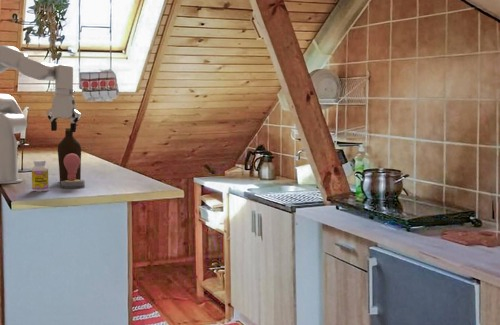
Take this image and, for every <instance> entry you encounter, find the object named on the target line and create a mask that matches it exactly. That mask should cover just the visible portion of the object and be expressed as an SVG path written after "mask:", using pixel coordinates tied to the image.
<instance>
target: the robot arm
mask: <svg viewBox="0 0 500 325" xmlns="http://www.w3.org/2000/svg"><path fill="white" fill-rule="evenodd" d="M29 57H30V56H29V55H28V54H27V53H25V52H23V51H20V50H19V49H18V48H17V47H15V46H14V45H13V46H11V45H6V44H5V45H4V44H0V74H1V73H4V72H5V71H8V70H9V69H11V70H15V71H18V72H19V73H20V74H22V75H24V76H26V77H29V78H32V79H35V80H38V81H51V82H53V81H54V86H55V87H54V95H53V98H52V105H51V108H50V109H48V110H47V111H46V112H45V113H46V117H47V118H48V119H49V122H50V129H51V132H56V131H57V130H58V129H57V128H58V123H57V120H58V119H63V120H64V119H67V120H69V121H70V125H69V126H70V127H69V128H70V132H73V133H76V130H77V123H78V122H79V121H80V118H81V117H82V113H81V112H79V111H78V110H77V101H76V99H75V98H76V97H75V96H74V95H75V94H76V90H73V89H74V67H73V66H72V65H71V64H70V65H69V64H56V63H48V62H39V61H36V60H33V59H30V58H29ZM27 127H28V120H27V118H26V116H25V114H24V112H23V110H22V109H21V107H20V105H19V104H18V102H17V101H16V99H15V98H14V97H13V96H11V95H10V94H8V93H0V185H4V184H5V185H6V184H17V183H21V182H23V179H22V178H19V165H18V164H19V163H18V162H19V161H18V159H19V158H18V142H17V138H16V136H15V134H21V133H23V132H24V131H26V129H27Z"/></svg>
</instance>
